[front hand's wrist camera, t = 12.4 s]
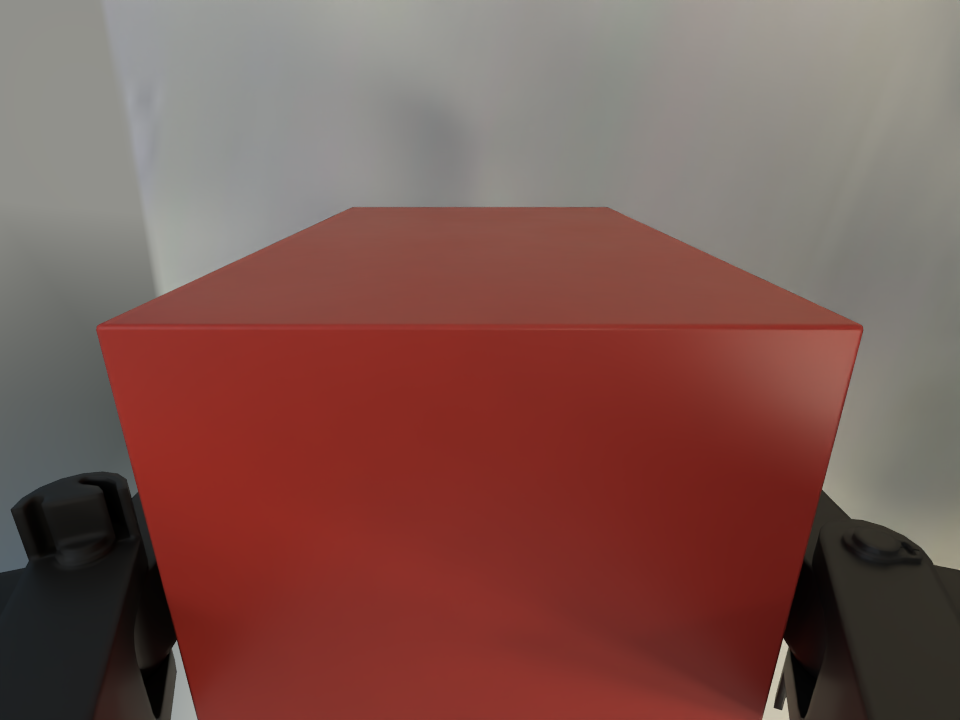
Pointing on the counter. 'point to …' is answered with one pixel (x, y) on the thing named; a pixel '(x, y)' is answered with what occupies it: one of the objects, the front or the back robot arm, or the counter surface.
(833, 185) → the counter surface
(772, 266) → the counter surface
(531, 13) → the counter surface
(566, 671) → the block
